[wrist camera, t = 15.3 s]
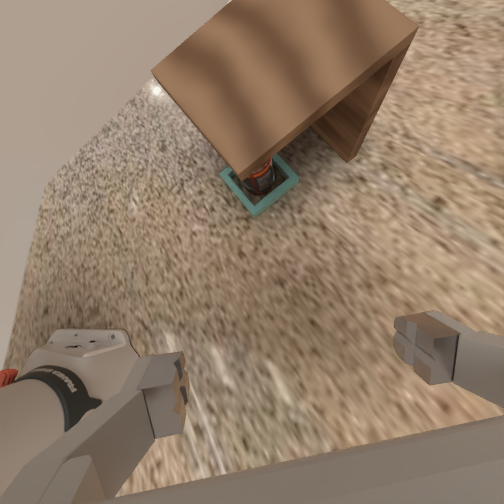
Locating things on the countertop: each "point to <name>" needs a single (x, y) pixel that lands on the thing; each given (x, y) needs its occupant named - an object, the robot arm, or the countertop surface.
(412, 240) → the countertop surface
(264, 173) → the supplement bottle
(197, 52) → the wooden l-shaped bracket
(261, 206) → the socket
